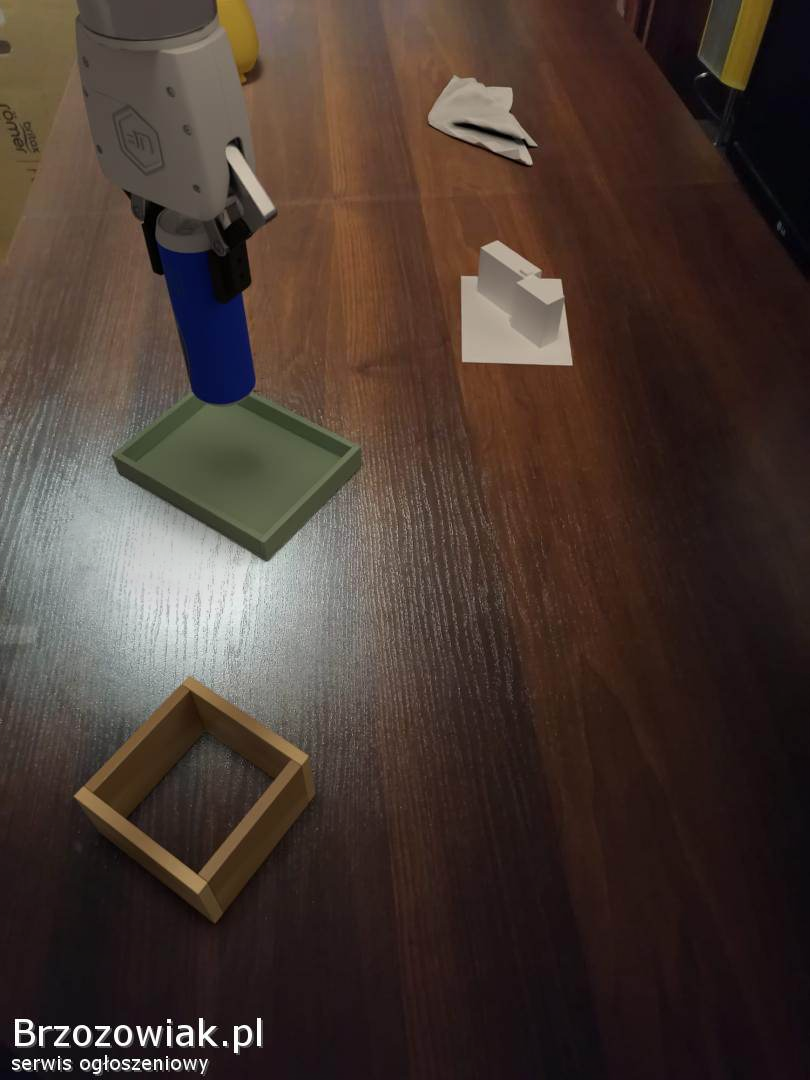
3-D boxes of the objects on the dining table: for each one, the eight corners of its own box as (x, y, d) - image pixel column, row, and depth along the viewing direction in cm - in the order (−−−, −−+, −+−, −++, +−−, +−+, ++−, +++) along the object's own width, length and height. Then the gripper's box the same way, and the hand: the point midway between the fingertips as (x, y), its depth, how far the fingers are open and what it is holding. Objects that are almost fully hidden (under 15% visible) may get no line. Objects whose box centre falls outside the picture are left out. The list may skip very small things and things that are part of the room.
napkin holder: (459, 275, 96) (462, 229, 92) (561, 278, 96) (569, 231, 92) (461, 362, 87) (465, 315, 82) (574, 365, 87) (584, 318, 82)
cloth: (417, 80, 127) (417, 64, 125) (509, 77, 128) (511, 61, 126) (440, 170, 110) (441, 153, 109) (545, 166, 111) (548, 149, 110)
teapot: (257, 40, 135) (247, -52, 125) (265, 97, 123) (254, 0, 113) (170, 44, 133) (153, -49, 124) (169, 103, 121) (150, 5, 111)
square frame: (99, 832, 56) (73, 796, 52) (204, 717, 62) (189, 674, 57) (215, 924, 53) (197, 894, 48) (316, 793, 58) (309, 755, 54)
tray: (118, 474, 76) (111, 454, 75) (218, 392, 83) (214, 372, 81) (267, 561, 71) (263, 542, 69) (362, 466, 77) (361, 446, 76)
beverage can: (205, 364, 71) (169, 194, 60) (264, 372, 71) (240, 202, 59) (182, 405, 68) (139, 234, 57) (244, 414, 68) (214, 244, 56)
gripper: (-12, -19, 48) (79, 264, 63) (217, 58, 43) (260, 351, 57) (89, -56, 52) (153, 218, 66) (311, 10, 46) (329, 295, 61)
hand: (202, 277), depth 61 cm, fingers closed on beverage can, 5 cm apart
